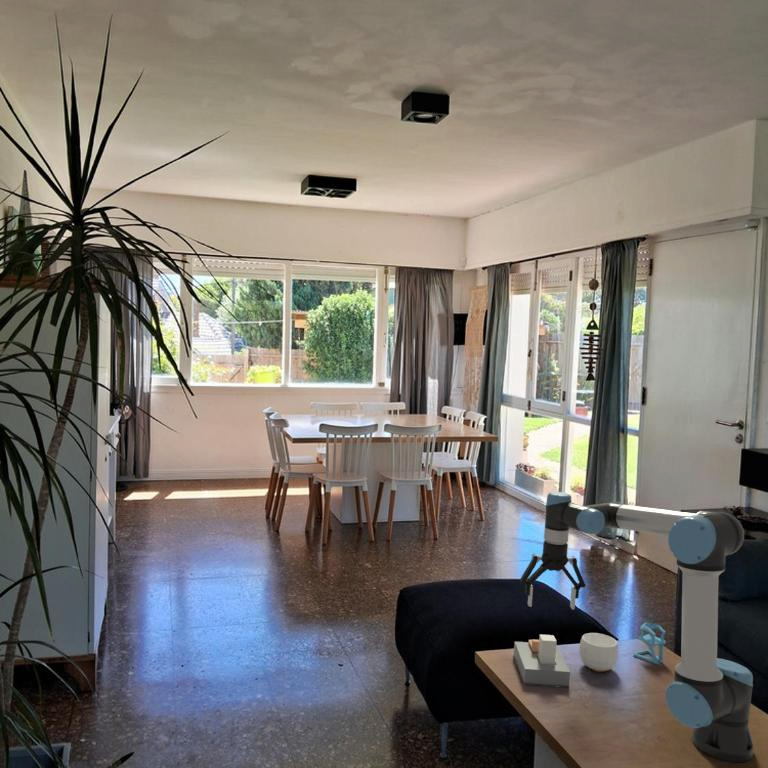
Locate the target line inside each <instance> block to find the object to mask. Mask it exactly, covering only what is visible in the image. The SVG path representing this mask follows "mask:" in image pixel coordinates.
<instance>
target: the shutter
mask: <svg viewBox="0 0 768 768" xmlns="http://www.w3.org/2000/svg"><path fill="white" fill-rule="evenodd" d="M528 643H529V645H530V647H531V650H532V652H538V649H539V639H533V638H532V639H528Z"/></svg>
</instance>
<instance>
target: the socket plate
mask: <svg viewBox="0 0 768 768" xmlns="http://www.w3.org/2000/svg"><path fill="white" fill-rule="evenodd" d="M528 642H529V641H528ZM528 642H527V641H525V642H524V641H514V646H513V658H514V661H515V665H516V666H517V669H518V672H519V674H520V678H521V680H522V683H523V685H527V686H540V685H545V686H546V687H555V686H559V687H558V688H570V678H571V677H570V676H571V671H570V669H569V667H568V664H567V663H566V662H565V658H564V657H563V655H562V654H561V651H560V649H559V648H558V645H557V644H556V656H555V665H548V664H539V662H538V652H532V650H531V647H530V645H529V643H528Z"/></svg>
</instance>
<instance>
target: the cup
mask: <svg viewBox="0 0 768 768" xmlns="http://www.w3.org/2000/svg"><path fill="white" fill-rule="evenodd" d="M579 655H580V659H581V661H582V662H583V664H584V665H585V666H586V667H588V668H589V669H590V670H591V669H592V671H593V670H594V672H597V673H603V672H606V671H609V670H611V669H612V668H614V667H615V665H616V663H617V660H618V659H619V658H618V657H619V656H618V655H619V645H618V641H617V640H616V639H615V638H614V637H612V636H610V635H606V634H604V633H598V632H589V633H584V634H583V635H581V639H580V642H579Z"/></svg>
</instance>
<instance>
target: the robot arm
mask: <svg viewBox="0 0 768 768" xmlns="http://www.w3.org/2000/svg"><path fill="white" fill-rule="evenodd" d="M546 497H547V498H546V503H545V519H544V520H545V521H544V531H543V532H544V534H543V539H544V541H543V544H542V545H543V546H542V554H541V555H538V554H536V553H532V556H531V560H530V562H529V564H528V566H527V567H526V569H525V571H523V574H522V575H521V577H520V578H519V580H520V582H521V583H522V585H525V591H524V592H525V595H526V596H527V606H528V607H530V608H532V606H533V595H534V591H533V590H534V586H533V584H534V582H536V581H537V579H538V578H540V576H542V575H543V574H544V573H545V572H546V571H547V570H548V571H550V572H551V571H556V572H560V571H563V573H564V574H565V575H566V577H567V578H568V579H569V581H570V583H572V585H573V586H571V590H570V601H569V602H570V603H569V607H570V608H571V610H575V607H576V599H577V600H578V599H579V597H580V590H581V588H586V583H585V580H584V579H583V576H582V574H581V572H580V569H579V566H578V559H577V558H576V557H575V556H573V555H572V556H571V557H568V550H569V549H568V548H569V547H568V545H569V544H568V542H569V536H570V535H569V533H570V532H569V531H570V529H574V530H577V531H579V532H581V533H584V534H588V535H589V534H590V535H593V536H594V535H598V534H599V533H600V532H601V531H602V530H603V529H608V528H612V529H613V528H614V529H618V530H620V529H621V530H626V531H627V530H628V531H634V532H637V533H638V532H640V533H645V534H651V535H656V536H657V535H658V536H664V537H668V538H667V540H668V541H667V542H668V547H669V550H670V551H671V552H672V553H673V554H672V556H673V557H674V558H675V559H676V566H677V567H678V568H679V570H681V572H682V583H681V584H682V585H681V586H682V591H681V592H682V593H681V638H680V639H681V647H680V650H681V651H680V652H681V653H680V654H681V655H680V662H678V663H677V664H675V666H674V680H673V682H671V683H669V685H668V686H667V687H666V689H665V693H664V694H665V702H666V705H667V707H668V710H669V711H670V713H671V714H672V715H673V717H674V719H676V720H677V721H678V722H679V723H680V724H682V725H683V726H685V727H688V728H690V729H692V732H691V733H692V734H691V741H692V743H693V744H694V745H695V747H697V749H699V750H700V751H702V752H703V753H705V754H706V755H708V756H710V757H712V758H715V759H717V760H718V759H719V760H721V761H725V762H730V763H744V762H748V761H750V760H751V759H752V758H753V755H754V744H753V739H752V736H751V731H750V726H749V720H750V713H751V712H750V711H751V702H752V695H753V694H752V693H753V687H754V684H753V681H754V677H753V673H752V672H751V671H750V669H748V668H747V667H745V666H744V665H741V664H740V663H738V662H735V661H732V660H727V659H725V658H718V631H719V630H718V623H719V620H718V619H719V614H718V613H719V578H720V577H719V576H720V575H721V574H722V573H724V572H726V571H725V570H726V557H727V556H730V555H733V554H734V553H736V552H737V551H739V549H740V548H741V547H742V545H743V543H744V540H745V530H744V528H743V525H742V523H741V522H740V521H739V520H738V519H737V518H736V517H735V516H734V515H732V514H730V513H728V512H724V511H708V510H707V511H706V510H699V511H698V512H697V513H693V512H686V511H678V510H669V509H662V508H656V507H655V508H654V507H647V506H646V507H645V506H640V505H639V506H638V505H629V504H625V503H623V502H620V501H610V502H606V503H605V502H604V503H598V504H596V503H595V504H589V505H582V504H576V503H575V502H572V496H571V494H569V493H567V492H562V491H552V492H551V491H550V492H549V493H548V494H547V496H546ZM540 561H541V562H542V563H541V564H540V565H539V567H538V568H537V569H536V570H535V571H534V572H533V570H534V569H535V567H536V565H537V564H538V563H539V562H540ZM568 563H569V564H570V565H571V566H572V568H573V571H574V573H575V575H576V578H577V581H578V582H577V581H576V580H575V578H574V577H573V575H572V574H571V573H570V571H569V570H568V569H567V568H566V565H567V564H568ZM532 572H533V573H532Z"/></svg>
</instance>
